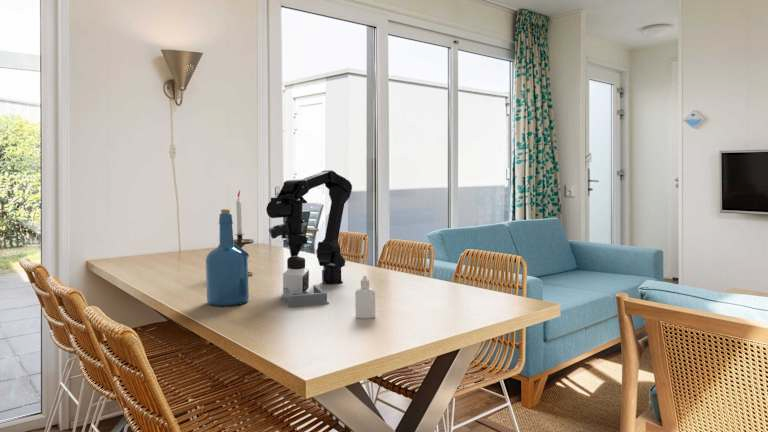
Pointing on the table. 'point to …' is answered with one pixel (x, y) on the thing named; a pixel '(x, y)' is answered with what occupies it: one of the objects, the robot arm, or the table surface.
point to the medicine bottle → (296, 275)
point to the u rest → (305, 298)
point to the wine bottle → (227, 268)
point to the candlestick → (239, 240)
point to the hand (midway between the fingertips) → (293, 261)
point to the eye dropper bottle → (365, 300)
